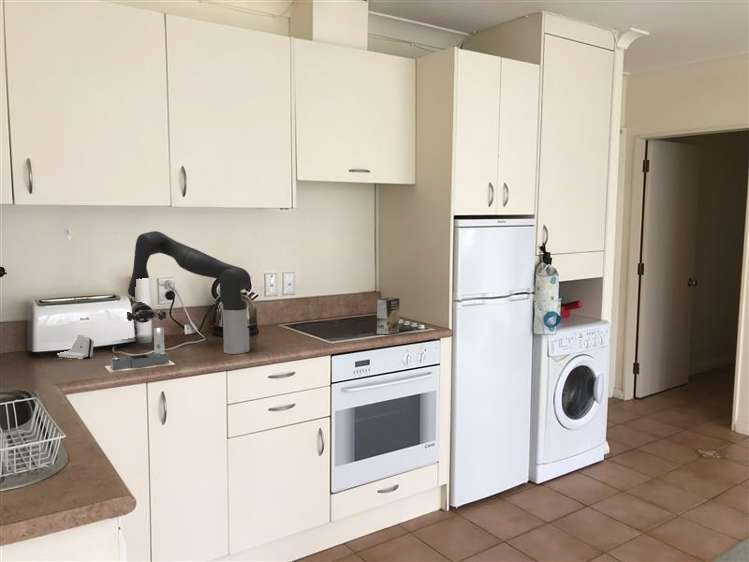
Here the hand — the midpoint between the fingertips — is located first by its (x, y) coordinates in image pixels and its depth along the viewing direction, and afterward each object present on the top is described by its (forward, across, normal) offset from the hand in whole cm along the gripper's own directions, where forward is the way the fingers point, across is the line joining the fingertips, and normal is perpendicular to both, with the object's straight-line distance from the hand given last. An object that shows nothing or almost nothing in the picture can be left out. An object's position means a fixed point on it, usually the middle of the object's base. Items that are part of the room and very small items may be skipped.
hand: (150, 318), depth 248 cm
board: (+20, -9, +14) cm, 26 cm away
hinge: (-10, -27, +15) cm, 32 cm away
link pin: (+12, 0, +14) cm, 18 cm away
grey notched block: (+20, -9, +13) cm, 26 cm away
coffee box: (+12, +103, +13) cm, 105 cm away
